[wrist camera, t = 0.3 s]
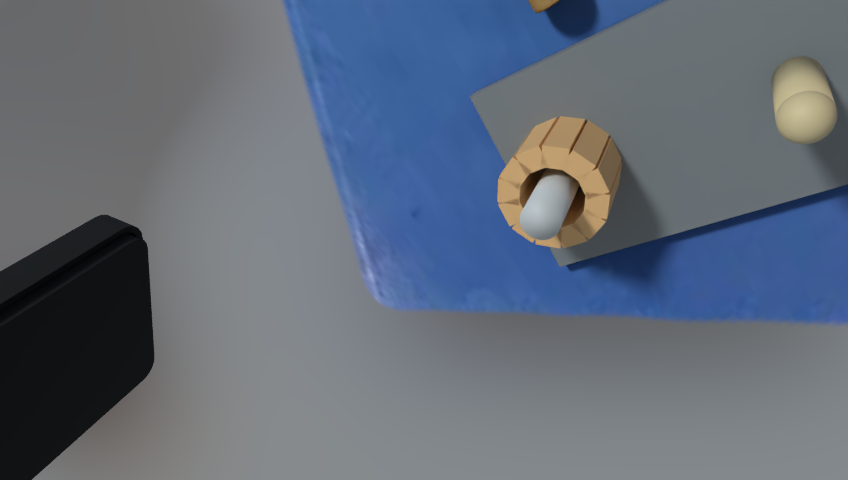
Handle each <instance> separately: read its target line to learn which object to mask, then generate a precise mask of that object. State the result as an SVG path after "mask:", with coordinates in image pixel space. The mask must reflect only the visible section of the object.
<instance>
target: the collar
mask: <svg viewBox="0 0 848 480" xmlns="http://www.w3.org/2000/svg"><path fill="white" fill-rule="evenodd" d="M608 136H609V134H608V133H606V132H605V131H603V130H602V129H601V128H599V127H598V126H596V125H595V124H593V123H592V122H590V121H589V120H588V122H587V123H586V124H585V119H581V118H572V117H563V116H560V118H559V119H558V117H555V118H553V119H551V120H548V121H546V122H544V123H541V124H539V125H536V126H535V127H534V128H533V129H532V130H531V131H530V133H529V134H528V136H527V137H526V138H525V140H524V141H523V143H522V144H521V146H520V147H519V148H518V150H517V151H516V153H515V154H514V156H513V157H512V158H511V160H510V161H509V163H508V164H507V166H506V167H505V169H504V170H503V171H502V173H501V174H500V177H499V179H498V202H500V203H499V205H498V206H499V207H500V209H501V211H502V213H503V215H504V217H505V218H506V220H507V222H508V224H509V226H511V225H514V226H513V227H512V229H513V230H515V231H516V232H518V233H519V234H520V235H522V236H523V237H525V238H526V239H528V240H529V241H530V242H532V243H533V242H534V240H535V239H534V238H532V237H530V236H529V235H527V234H526V233H525V232H524V231H523V229H522V227H521V225H520V214H521V212H522V210H523V208H524V206H525V205H526V203H527V201H528V199H529V198H530V196H531V194H532V192H533V191H534V189H535V187H536V185H537V184H538V182H539V180H540V178H541V177H542V175H541V173H540V171H539V170H540V169H543V168H551V169H558V170H563V171H565V172H566V173H568V174H569V175H571V176H572V177H574V178H575V179H576V180H578V182H579V184H580V186H581V188H582V190H583V191H581V192H578V193H576V195H575V197H574V199H573V201H572V204H571V206H570V208H569V210H568V212H567V215H566V217H565V219H564V221H563V223H562V226H561V228H560V230H559V232H558V233H557V235H556V236H554V237H553V238H551V239H547V240H538V239H536V244H537V245H543V246H549V247H554V248H561V246H563V248H567V247H570V246H573V245H577V244H580V243H583V242H587V240H588V239H591V238H592V237H593V236H594V235H595V233H596V232H597V231H598V230H599V229H600V228H601V227H602V226H603V225H604V223H605V222H606V220H607V218H608V215H609V212H610V209H611V206H612V203H613V200H614V197H615V194H616V192H617V189H618V186H619V181H620V174H621V166H622V162H621V159H622V158H621V156H620V154H619V152H618V150H617V148H616V146H615V144H614V141H613V139H612V137H610V138H608Z"/></svg>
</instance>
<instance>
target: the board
mask: <svg viewBox="0 0 848 480" xmlns="http://www.w3.org/2000/svg"><path fill="white" fill-rule="evenodd" d="M470 98H471V100H472V102H473V104H474V106H475V108H476V109H477V111H478V113H479V115H480V117H481V119H482V121H483V123H484V125H485V126H486V128H487V130H488V132H489V134H490V136H491V138H492V140H493V142H494V143H495V145H496V147H497V149H498V151H499V153H500V155H501V157H502V159H503V161H504V162H505V164H506V166H507V164H508V163H509V161H510V160H511V158H512V157H513V156H514V154H515V153H516V151H517V150H518V148H519V147H520V146H521V144H522V143H523V141H524V140H525V138H526V137H527V136H528V134H529V133H530V131H531V130H532V129H533V128H534V127H535V126H536V125H539V124H541V123H544V122H546V121H548V120H551V119H553V118H555V117H558V119H559V118H560V116H563V117H572V118H581V119H585V124H586V123H587V122H588V120H589V121H590V122H592V123H593V124H595V125H596V126H598V127H599V128H601V129H602V130H603V131H605V132H606V133H608V134H609V136H608V138H610V137H612V139H613V141H614V144H615V146H616V148H617V150H618V152H619V154H620V156H621V158H622V159H621V162H622V166H621V174H620V181H619V186H618V189H617V192H616V194H615V197H614V200H613V203H612V206H611V209H610V212H609V215H608V218H607V220H606V222H605V223H604V225H603V226H602V227H601V228H600V229H599V230H598V231H597V232H596V233H595V235H594V236H593V237H592V238H591V239H588V240H587V242H583V243H580V244H577V245H573V246H570V247H567V248H563V246H561V248H554V247H549V248H550V250H551V251H552V253H553V255H554V257H555V259H556V261H557V263H558V265H559V267H561V266H565V265H568V264H572V263H575V262H579V261H582V260H586V259H589V258H593V257H596V256H600V255H603V254H607V253H610V252H614V251H617V250H621V249H624V248H628V247H631V246H635V245H638V244H641V243H645V242H648V241H652V240H655V239H659V238H662V237H666V236H669V235H673V234H676V233H680V232H683V231H687V230H690V229H694V228H697V227H701V226H704V225H708V224H711V223H715V222H718V221H722V220H725V219H729V218H732V217H736V216H739V215H743V214H746V213H750V212H753V211H757V210H760V209H764V208H767V207H771V206H774V205H778V204H781V203H785V202H788V201H792V200H795V199H799V198H802V197H806V196H809V195H812V194H816V193H819V192H823V191H826V190H830V189H833V188H837V187H840V186H844V185H847V184H848V0H664V1H662V2H660V3H658V4H656V5H654V6H652V7H650V8H648V9H646V10H644V11H642V12H640V13H638V14H635V15H633V16H631V17H629V18H627V19H625V20H623V21H621V22H619V23H617V24H615V25H613V26H611V27H609V28H606V29H604V30H602V31H600V32H598V33H596V34H594V35H592V36H590V37H588V38H586V39H584V40H582V41H580V42H577V43H575V44H573V45H571V46H569V47H567V48H565V49H563V50H561V51H559V52H557V53H555V54H553V55H551V56H548V57H546V58H544V59H542V60H540V61H538V62H536V63H534V64H532V65H530V66H528V67H526V68H524V69H521V70H519V71H517V72H515V73H513V74H511V75H509V76H507V77H505V78H503V79H501V80H499V81H497V82H495V83H492V84H490V85H488V86H486V87H484V88H482V89H480V90H478V91H476V92H474V93H473V94H472V95H471V96H470ZM539 171H540V173H541V175H542V177H541V178H540V180H539V182H538V184H537V185H536V187H535V189H534V191H533V192H532V194H531V196H530V198H529V199H528V201H527V203H526V205H525V206H524V208H523V210H522V212H521V214H520V225H521V227H522V229H523V231H524V232H525V233H526V234H527V235H529V236H530V237H532V238H534V239H538V240H547V239H551V238H553V237H554V236H556V235H557V233H558V232H559V230H560V228H561V226H562V223H563V221H564V219H565V217H566V215H567V212H568V210H569V208H570V206H571V204H572V201H573V199H574V197H575V195H576V193H578V192H581V191H583V190H582V188H581V186H580V184H579V182H578V180H576V179H575V178H574V177H572V176H571V175H569V174H568V173H566V172H565V171H563V170H558V169H551V168H543V169H540V170H539Z"/></svg>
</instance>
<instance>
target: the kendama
mask: <svg viewBox="0 0 848 480" xmlns="http://www.w3.org/2000/svg"><path fill="white" fill-rule="evenodd" d="M528 1H529V3H530V5H531V6H532V8H533V10H534V11H535V12H536V13H539V12H542V11H545V10H546V9H548V8H550V7H551V6H553V5H554V4H556V3H557V2H558V1H560V0H528Z"/></svg>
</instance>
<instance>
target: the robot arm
mask: <svg viewBox="0 0 848 480" xmlns="http://www.w3.org/2000/svg"><path fill="white" fill-rule="evenodd" d="M153 363H154V344H153V327H152V311H151V295H150V279H149V262H148V247H147V244H146V242H145V241H144V240H143V238H142V233H141V231H140V230H139V229H138V228H137V227H134V226H132V225H130V224H128V223H125V222H123V221H120V220H118V219H115V218H113V217H111V216H108V215H100V216H97V217H95V218H94V219H91V220H90V221H88V222H86V223H84V224H83V225H81V226H79V227H77V228H76V229H74V230H72V231H70V232H69V233H67V234H65V235H63V236H62V237H60V238H58V239H56V240H55V241H53V242H51V243H49V244H48V245H46V246H44V247H42V248H41V249H39V250H37V251H36V252H34V253H32V254H30V255H29V256H27V257H25V258H23V259H21V260H20V261H18V262H16V263H14V264H13V265H11V266H9V267H8V268H6V269H4V270H2V271H0V480H32V479H33V478H34V477H35V476H36V475H37V474H38V473H40V472H41V471H42V470H43V469H44V468H45V467H46V466H47V465H49V464H50V463H51V462H52V461H53V460H54V459H55V458H56V457H57V456H59V455H60V454H61V453H62V452H63V451H64V450H65V449H66V448H68V447H69V446H70V445H71V444H72V443H73V442H74V441H75V440H77V439H78V438H79V437H80V436H81V435H82V434H83V433H84V432H85V431H86V430H88V429H89V428H90V427H91V426H92V425H93V424H95V423H96V422H97V421H98V420H99V419H100V418H101V417H102V416H103V415H105V414H106V413H107V412H108V411H109V410H110V409H111V408H112V407H113V406H115V405H116V404H117V403H118V402H119V401H120V400H121V399H122V398H124V397H125V396H126V395H127V394H128V393H129V392H130V391H131V390H133V389H134V388H135V387H136V386H137V385H138V384H139V383H140V382H142V381H143V380H144V379H145V378H146V376H147V375H148V374H149V372H150V370H151V368H152V366H153Z"/></svg>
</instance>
